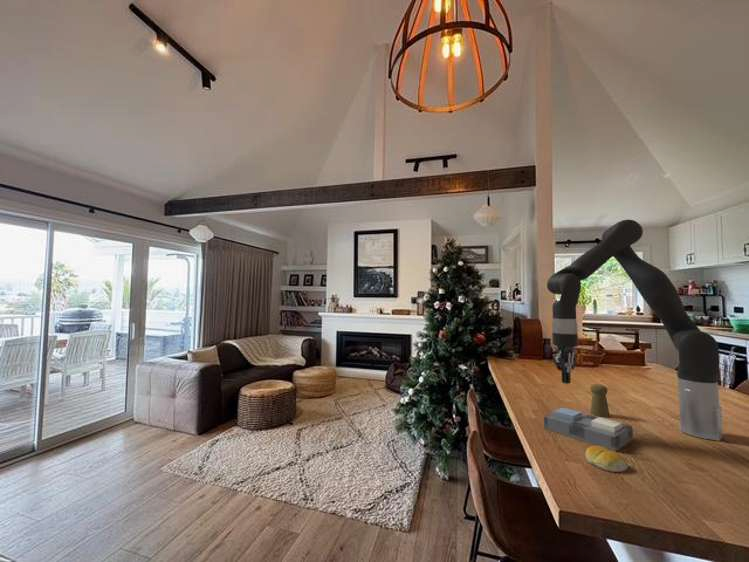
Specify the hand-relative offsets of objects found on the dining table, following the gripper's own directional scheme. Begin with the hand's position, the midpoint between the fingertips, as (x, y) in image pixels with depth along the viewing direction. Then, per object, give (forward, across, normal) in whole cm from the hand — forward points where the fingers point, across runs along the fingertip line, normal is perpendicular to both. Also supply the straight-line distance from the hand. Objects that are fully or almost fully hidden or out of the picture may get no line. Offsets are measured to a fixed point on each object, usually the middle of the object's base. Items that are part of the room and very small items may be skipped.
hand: (566, 382), depth 109 cm
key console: (+15, 0, -6) cm, 16 cm away
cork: (+15, +24, -1) cm, 28 cm away
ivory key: (+12, 0, -11) cm, 17 cm away
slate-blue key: (+12, 0, 0) cm, 12 cm away
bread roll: (+15, -17, -17) cm, 29 cm away
